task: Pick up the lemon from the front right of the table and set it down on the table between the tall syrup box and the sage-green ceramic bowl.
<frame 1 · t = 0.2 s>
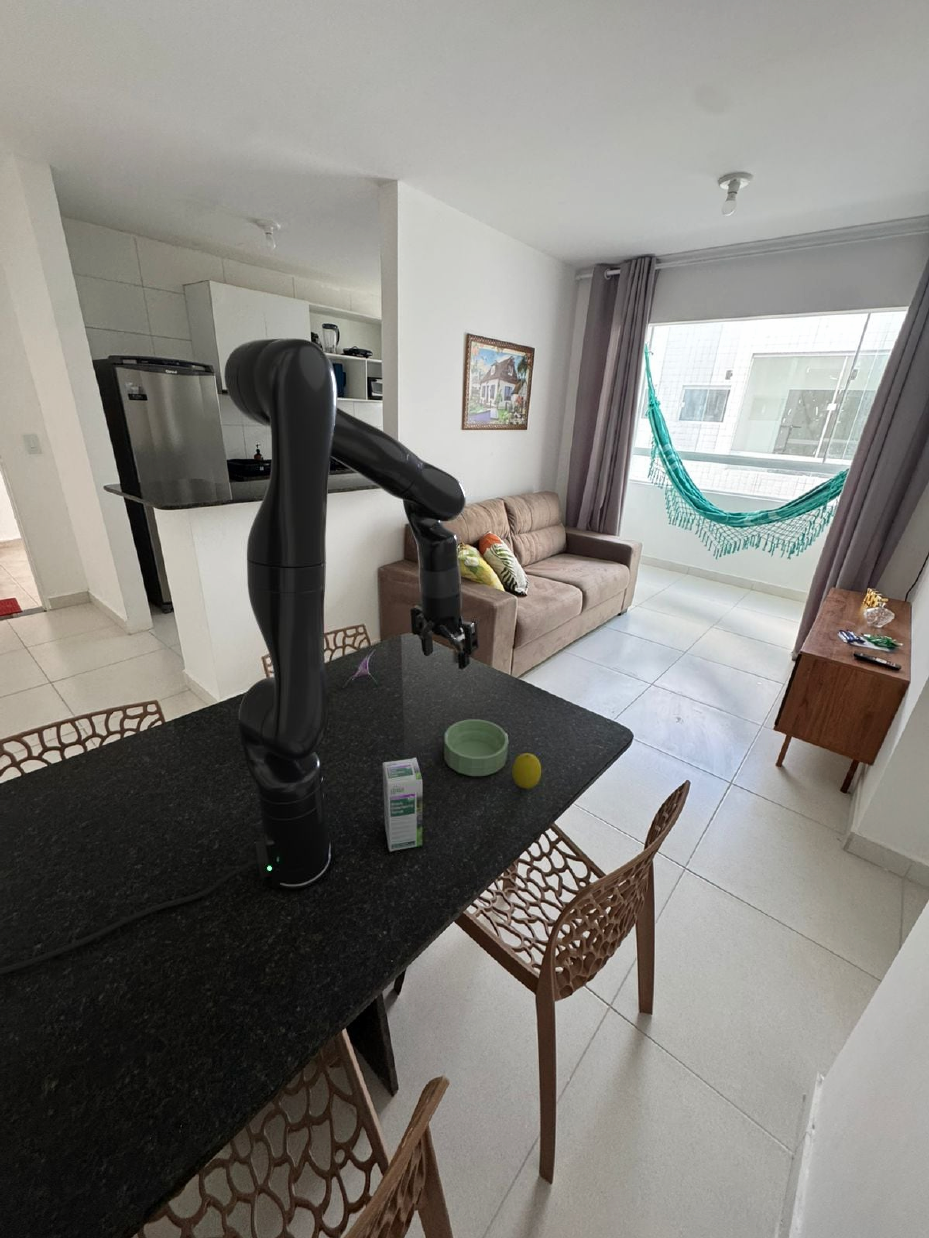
hand: (445, 660, 100), 22 cm above the table, tool pointing down, fingers open, 8 cm apart
syrup box: (403, 837, 89), on the table
lemon: (524, 788, 101), on the table
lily: (362, 683, 134), on the table
bowl: (474, 757, 109), on the table
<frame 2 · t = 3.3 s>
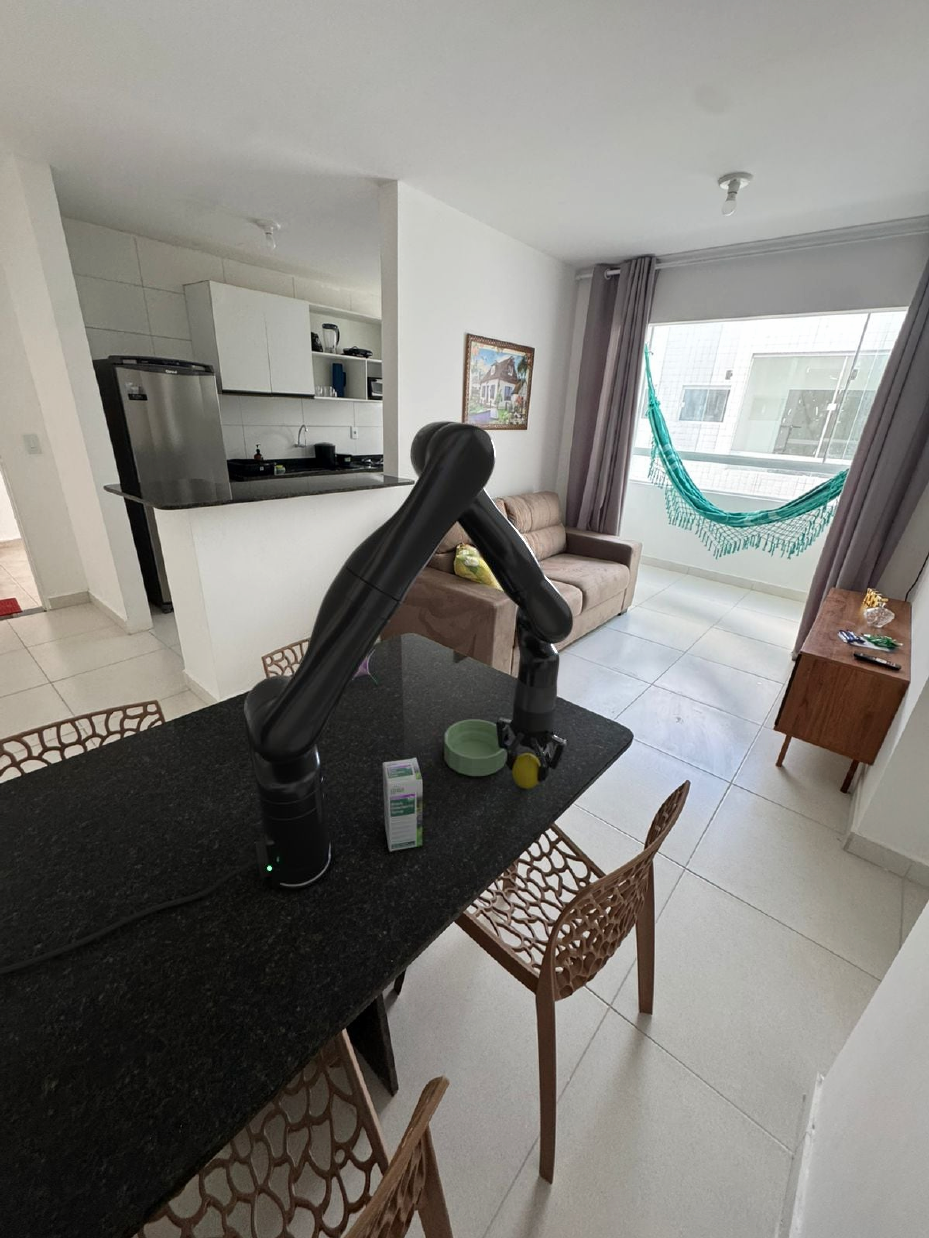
hand: (526, 773, 99), 4 cm above the table, tool pointing down, fingers closed on lemon, 5 cm apart
lemon: (524, 788, 101), on the table, touching gripper
everything else where it was.
when the fingers open (3 cm above the table, at t = 9.9 s): lemon stays where it is, on the table.
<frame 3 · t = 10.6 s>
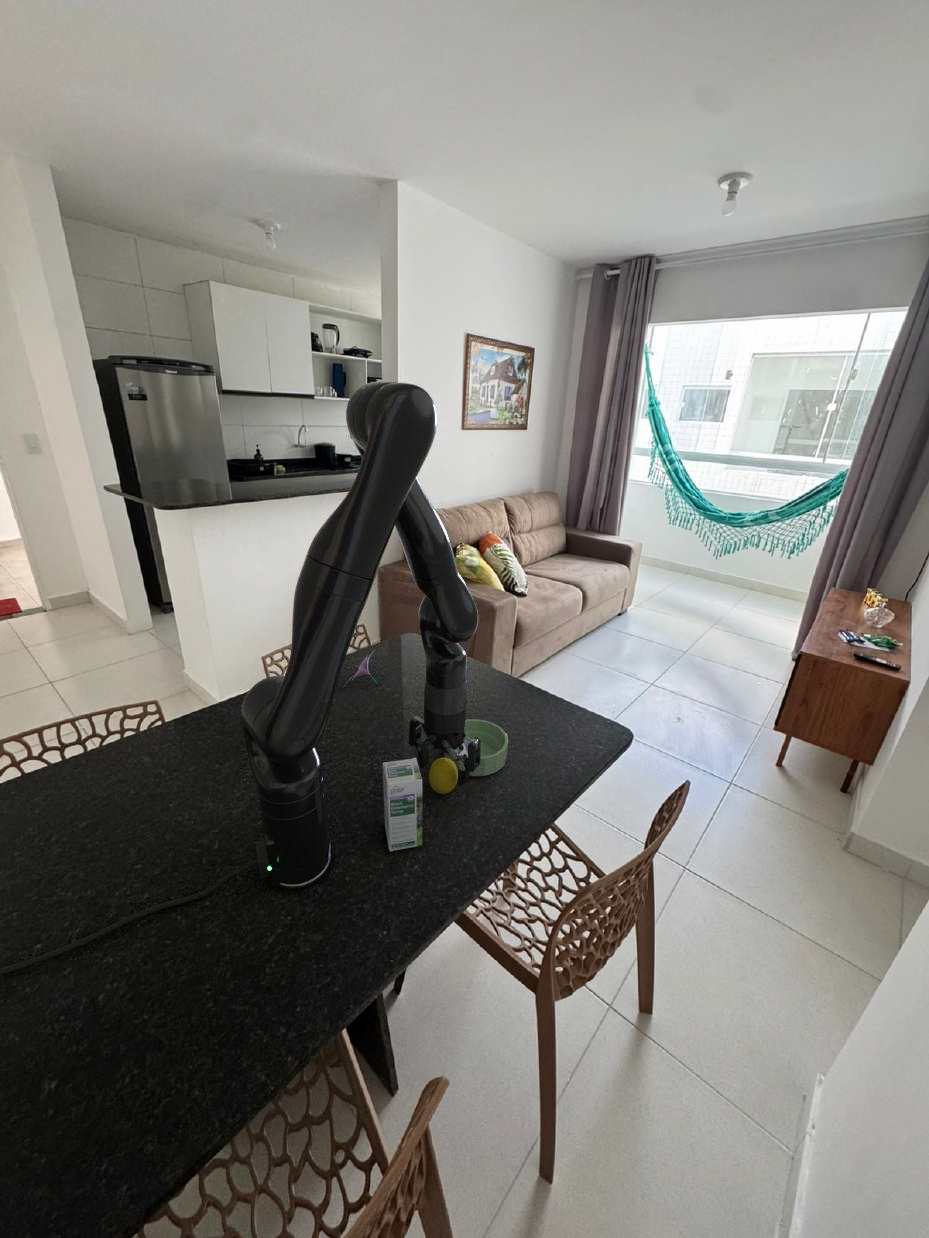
hand: (442, 774, 97), 5 cm above the table, tool pointing down, fingers open, 8 cm apart
lemon: (442, 793, 99), on the table
everything else where it was.
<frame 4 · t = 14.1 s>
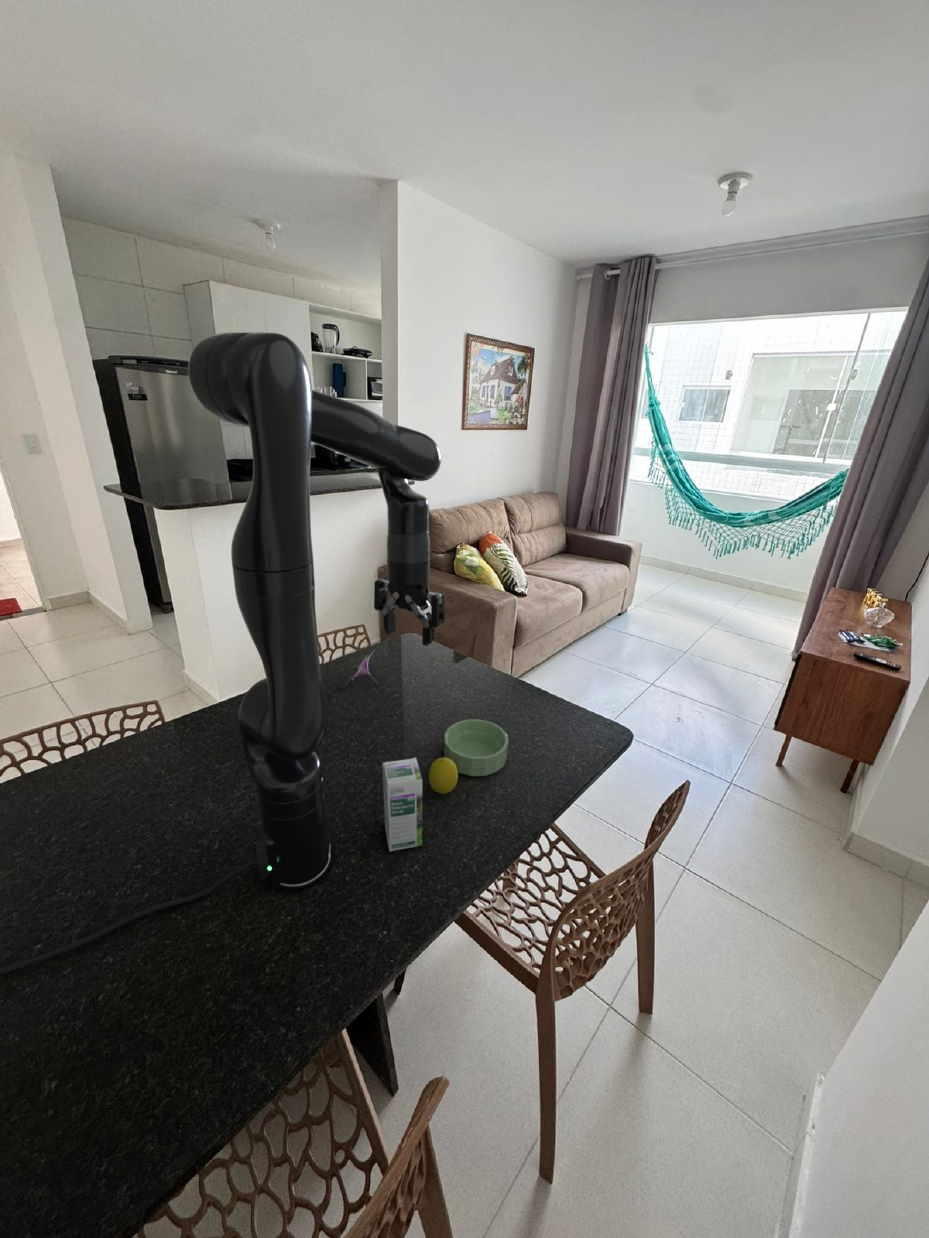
hand: (408, 638, 96), 28 cm above the table, tool pointing down, fingers open, 8 cm apart
nothing on the table moved.
at the end: lemon 12.7 cm from the syrup box (horizontally); lemon 12.5 cm from the bowl (horizontally); lemon on the table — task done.
